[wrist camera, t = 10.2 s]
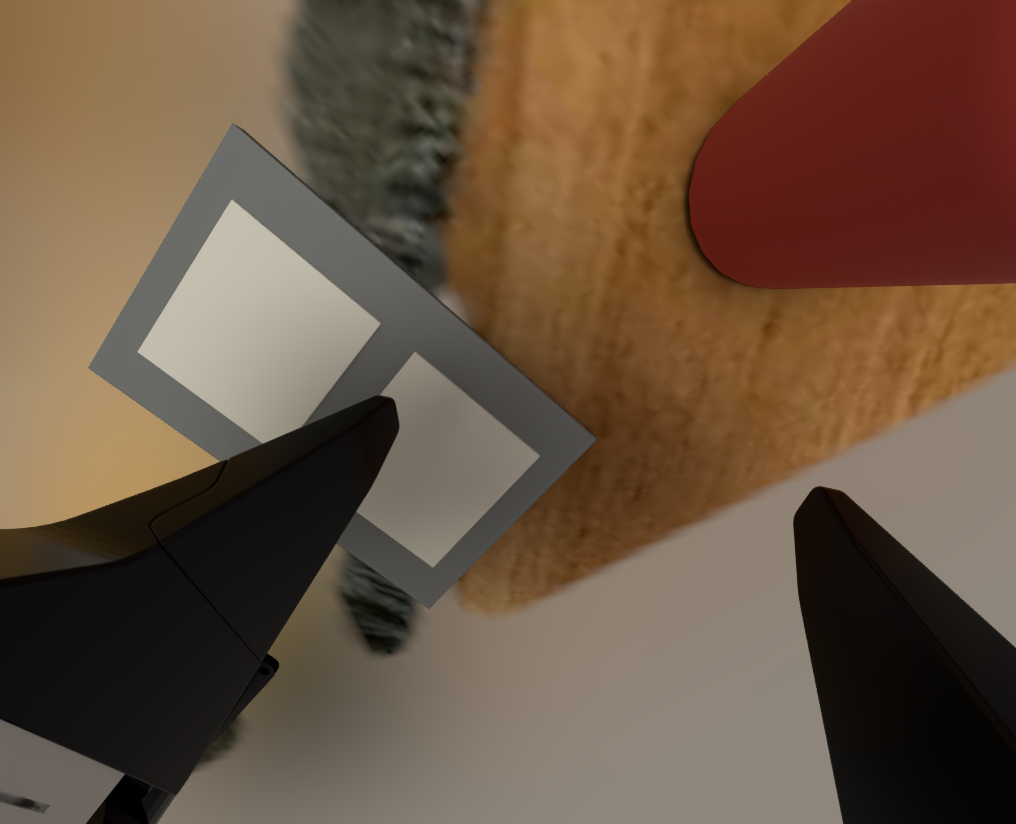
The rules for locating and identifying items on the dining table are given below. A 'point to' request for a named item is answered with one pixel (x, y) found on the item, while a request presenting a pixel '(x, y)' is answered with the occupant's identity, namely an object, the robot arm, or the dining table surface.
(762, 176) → the beer can
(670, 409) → the dining table surface
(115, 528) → the robot arm
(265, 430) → the label board
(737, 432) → the dining table surface
